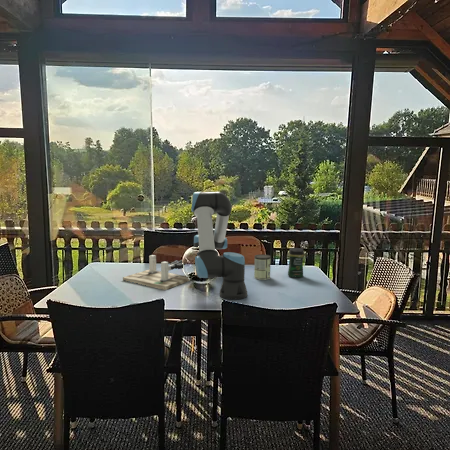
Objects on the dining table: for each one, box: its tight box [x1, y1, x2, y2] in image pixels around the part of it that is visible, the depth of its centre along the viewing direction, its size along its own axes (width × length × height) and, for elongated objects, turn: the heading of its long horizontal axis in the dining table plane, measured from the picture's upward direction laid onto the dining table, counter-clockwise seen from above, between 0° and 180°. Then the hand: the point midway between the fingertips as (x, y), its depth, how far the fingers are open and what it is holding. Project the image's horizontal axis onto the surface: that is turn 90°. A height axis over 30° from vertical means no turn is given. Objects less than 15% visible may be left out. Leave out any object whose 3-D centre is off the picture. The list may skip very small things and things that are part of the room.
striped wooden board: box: [122, 269, 190, 291], centre depth 246 cm, size 24×34×2 cm
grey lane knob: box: [148, 254, 159, 274], centre depth 254 cm, size 5×4×11 cm
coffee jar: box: [287, 247, 305, 279], centre depth 257 cm, size 10×8×19 cm
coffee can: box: [253, 253, 272, 281], centre depth 253 cm, size 10×10×14 cm
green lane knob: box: [160, 261, 170, 282], centre depth 237 cm, size 5×4×11 cm
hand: (166, 268), depth 239 cm, fingers closed
